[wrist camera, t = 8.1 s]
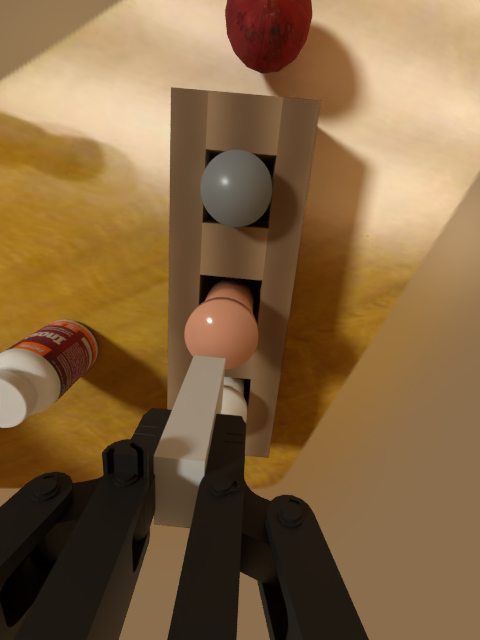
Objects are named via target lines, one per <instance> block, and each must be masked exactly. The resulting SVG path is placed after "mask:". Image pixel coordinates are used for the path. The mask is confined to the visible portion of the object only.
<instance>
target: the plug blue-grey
mask: <svg viewBox="0 0 480 640" xmlns="http://www.w3.org/2000/svg"><path fill="white" fill-rule="evenodd" d="M200 189H201V197H202V201H203V204H204V206H205V208H206V210H207V211H208V213H209V214H210V215H211V216H212V217H213V218H214V219H215V220H216V221H218V222H220V223H222V224H224V225H227V226H231V227H243V226H247V225H249V224H252V223H253V222H255V221H256V220H258V219H259V218H260V217H261V216H262V215H263V214H264V213H265V211H266V210H267V208H268V206H269V204H270V201H271V197H272V180H271V176H270V173H269V171H268V169H267V167H266V166H265V164H264V163H263V162H262V161H261V160H260V159H259V158H258V157H257V156H255V155H254V154H252V153H250V152H247V151H244V150H229V151H225V152H223V153H221V154H219V155H217V156H216V157H215V158H214V159H212V160H211V162H210V163H209V164H208V165H207V167H206V169H205V171H204V173H203V175H202V179H201V186H200Z"/></svg>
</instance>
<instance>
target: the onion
mask: <svg viewBox="0 0 480 640" xmlns="http://www.w3.org/2000/svg"><path fill="white" fill-rule="evenodd" d="M225 17H226V27H227V35H228V38H229V40H230V43H231V45H232V48H233V51H234V52H235V54H236V55H237V56H238V57H239V58H240V60H241V61H242V62H243V63H244V64H245V65H246V66H247V67H248V68H251V69H253V70H255V71H258V72H260V73H270V72H278V71H280V70H281V69H282V68H284V67H285V66H287V65H288V64H289V63H291V62H292V61H293V60H294V59H295V58H296V57H297V55H298V54H299V52H300V50H301V49H302V47H303V45H304V44H305V42H306V39H307V35H308V31H309V27H310V23H311V19H312V4H311V0H227V5H226V9H225Z"/></svg>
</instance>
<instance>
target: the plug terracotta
mask: <svg viewBox="0 0 480 640" xmlns="http://www.w3.org/2000/svg"><path fill="white" fill-rule="evenodd" d="M253 301H254V300H253V294H252V292H251V290H250V288H249V287H248V286H247V285H246V284H245V283H243V282H242V281H240V280H237V279H232V278H228V279H223V280H220V281H219V282H217V283H216V284H214V285H213V287H212V288H211V290H210V291H209V293H208V295H207V297H206V299H205V301H204V302H202V303H201V304H200V305H198V306H197V307H196V308H195V309H194V311H193V312H192V314H191V316H190V317H189V319H188V321H187V323H186V327H185V333H184V335H185V343H186V346H187V348H188V350H189V352H190V353H191V355H192V356H193V357H194V355H197V356H207V357H217V358H226V360H225V370H228V369H233V368H236V367H239V366H241V365H242V364H244V363H245V362H247V361H248V360H249V359H250V358H251V357H252V355H253V354H254V352H255V350H256V347H257V344H258V325H257V321H256V319H255V317H254V315H253Z"/></svg>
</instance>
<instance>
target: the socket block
mask: <svg viewBox="0 0 480 640" xmlns="http://www.w3.org/2000/svg"><path fill="white" fill-rule="evenodd" d="M320 102H321V100H310V99H298V98H287V97H275V96H263V95H252V94H240V93H229V92H217V91H206V90H194V89H183V88H171V140H170V223H169V307H168V390H167V409H168V410H172V409H173V407H174V404H175V402H176V399H177V397H178V394H179V392H180V389H181V387H182V384H183V382H184V379H185V377H186V374H187V372H188V369H189V367H190V364H191V362H192V359H193V356H192V355H191V353H190V352H189V350H188V348H187V346H186V343H185V335H184V333H185V327H186V323H187V321H188V319H189V317H190V316H191V314H192V312H193V311H194V309H195V308H196V307H197V306H198V305H200V304H201V303H202V302H204V301H205V299H206V297H207V295H208V290H209V276H220V277H230V278H241V279H251V280H260V286H259V296H258V305H257V314H256V315H255V314H253V315H254V317H255V319H256V321H257V325H258V344H257V347H256V350H255V352H254V354H253V355H252V357H251V358H250V359H249V360H248V361H247V362H245V363H244V364H242V365H241V366H239V367H236V368H233V369H228V370H225V373H224V377H233V378H243V379H249V387H248V391H244V398H245V400H246V403H247V420H246V443H245V455H246V456H256V457H265V458H269V451H270V444H271V437H272V430H273V423H274V417H275V410H276V403H277V396H278V389H279V382H280V376H281V369H282V362H283V355H284V348H285V341H286V335H287V328H288V321H289V314H290V307H291V300H292V294H293V287H294V280H295V273H296V266H297V260H298V253H299V246H300V239H301V232H302V225H303V219H304V212H305V205H306V198H307V191H308V184H309V178H310V171H311V164H312V157H313V150H314V143H315V137H316V130H317V123H318V116H319V109H320ZM229 150H244V151H247V152H250V153H252V154H254V155H255V156H257V157H258V158H259V159H260V160H261V161H262V162H265V163H273V168H272V177H271V180H272V197H271V201H270V204H269V206H268V214H267V223H263V222H253V223H252V224H249V225H247V226H243V227H231V226H227V225H224V224H222V223H220V222H218V221H216V220H215V219H214V218H212V216H211V215H210V214H209V213H208V211H207V210H206V208H205V206H204V204H203V201H202V197H201V189H200V186H201V179H202V175H203V173H204V171H205V169H206V167H207V165H208V164H209V163H210V162H211V160H212V159H214V158H215V157H216V156H217V155H219V154H221V153H223V152H225V151H229Z"/></svg>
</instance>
